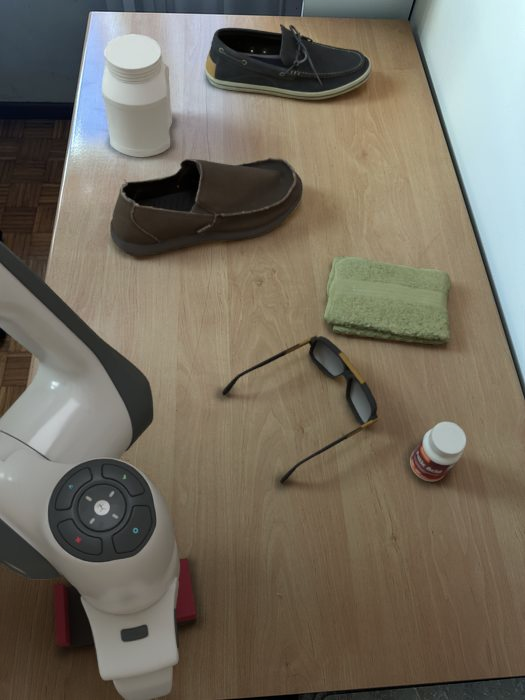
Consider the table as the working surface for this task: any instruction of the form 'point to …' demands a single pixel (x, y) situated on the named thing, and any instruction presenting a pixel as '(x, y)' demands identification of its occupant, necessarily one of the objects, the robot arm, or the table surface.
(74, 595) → the red and black block
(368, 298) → the washcloth
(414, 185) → the table surface
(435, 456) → the pill bottle
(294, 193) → the loafer
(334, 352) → the sunglasses
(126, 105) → the jar
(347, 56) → the boat shoe
